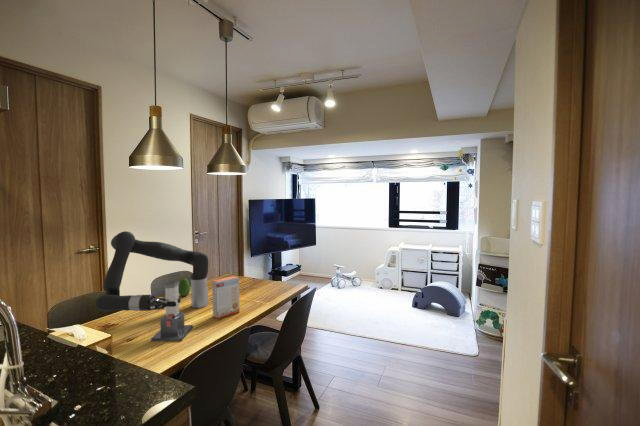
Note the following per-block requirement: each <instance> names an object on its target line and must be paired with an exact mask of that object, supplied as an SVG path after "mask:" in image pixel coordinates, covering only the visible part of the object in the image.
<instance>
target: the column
mask: <svg viewBox="0 0 640 426" xmlns="http://www.w3.org/2000/svg"><path fill="white" fill-rule="evenodd" d="M179 283H180V280H178V281H177V280H173V281H170V280H169V281H168V282H167V283H165V284H163V285H164V286H163V288H164V291H165V292H164V293H165V295H164V296H165V298H166V301H165V302H176V306H175V307H165V314H166V316H168V315H173V317H177V316H178V315H179V312H180V306H179V305H180V303H179V298H180V294H179V289H178V286H179Z"/></svg>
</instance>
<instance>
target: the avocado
mask: <svg viewBox="0 0 640 426" xmlns="http://www.w3.org/2000/svg"><path fill="white" fill-rule="evenodd" d="M178 289H179V296H181V297H186V296H188V295H189V294H190V293H191V283H190V281H189V280H188V279H187V278H183V279H181V280H179V285H178Z"/></svg>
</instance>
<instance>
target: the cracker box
mask: <svg viewBox="0 0 640 426" xmlns="http://www.w3.org/2000/svg"><path fill="white" fill-rule="evenodd" d="M211 282H212V284H211V285H212V287H211V288H212V316H213V317H214V318H216V319H218V320H219V319H221V318H225V317H228V316H231V315H234V314H237V313H240V312H241V310H240V278H239V277H238V276H235V275H231V276H227V277H222V278H217V279H214V280H213V279H212V281H211Z"/></svg>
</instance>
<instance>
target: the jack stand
mask: <svg viewBox="0 0 640 426" xmlns="http://www.w3.org/2000/svg"><path fill="white" fill-rule="evenodd" d="M159 320H160V325H159V327H160V329H159V330H158V331H157V332H156V333H155V334H154V335H153V336H152V337H150V341H151V342H181V341H183V340H184V339H185V338H186V336H187V335H188V334H189V333H190V332H191V331H192V329H193V324H185V312H184V311H183V312H182V311H181V312H180V311H179V315H178V316H177V317H173V315H168V316H166V313H165V314H164V315H163V316H162V317H160V319H159Z"/></svg>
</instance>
